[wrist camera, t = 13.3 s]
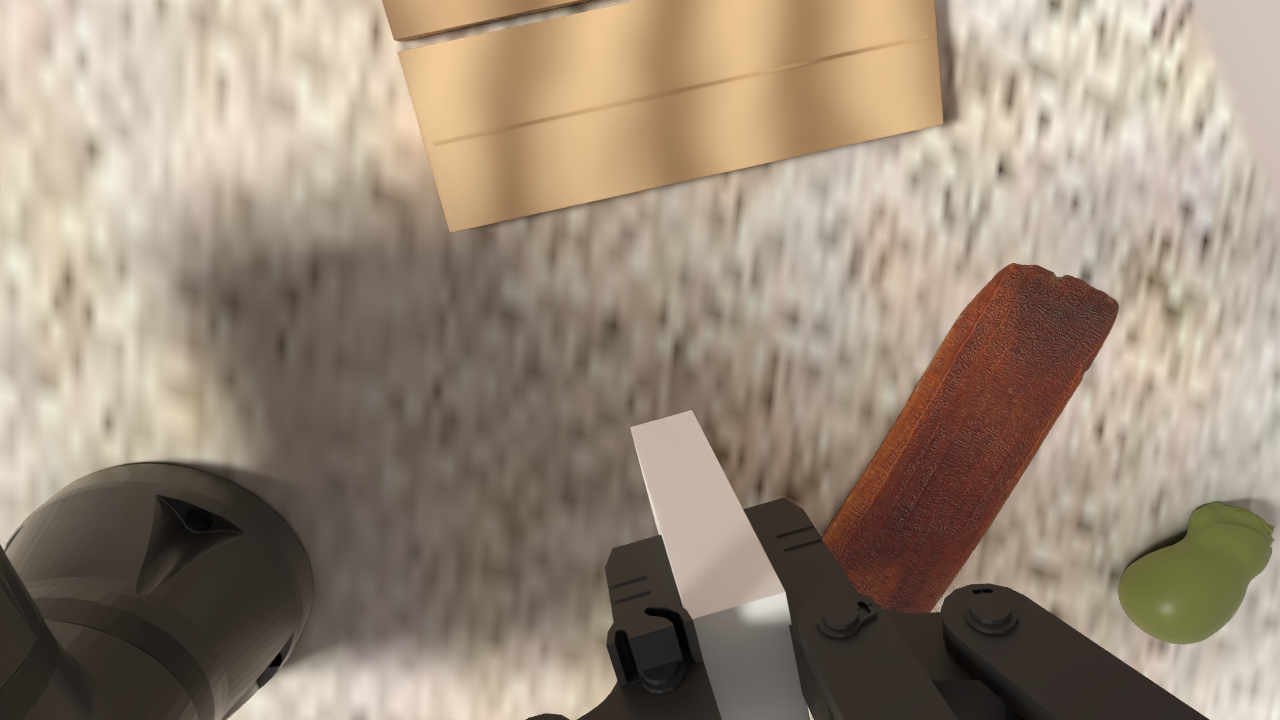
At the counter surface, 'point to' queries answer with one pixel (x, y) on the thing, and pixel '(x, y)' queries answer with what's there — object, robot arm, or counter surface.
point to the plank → (663, 96)
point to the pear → (1197, 575)
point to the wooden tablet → (968, 434)
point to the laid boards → (457, 14)
